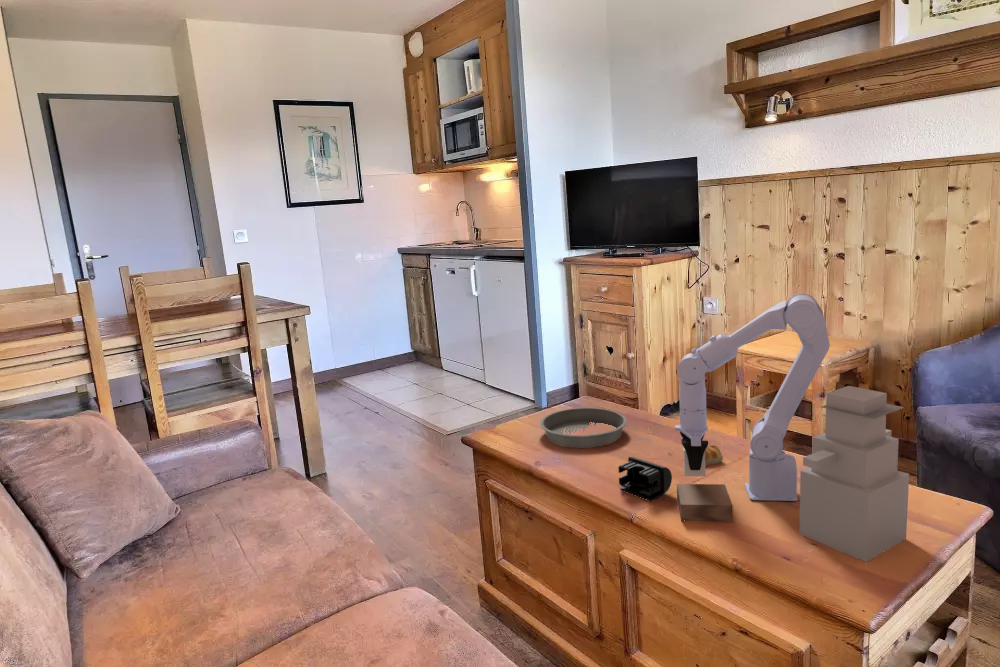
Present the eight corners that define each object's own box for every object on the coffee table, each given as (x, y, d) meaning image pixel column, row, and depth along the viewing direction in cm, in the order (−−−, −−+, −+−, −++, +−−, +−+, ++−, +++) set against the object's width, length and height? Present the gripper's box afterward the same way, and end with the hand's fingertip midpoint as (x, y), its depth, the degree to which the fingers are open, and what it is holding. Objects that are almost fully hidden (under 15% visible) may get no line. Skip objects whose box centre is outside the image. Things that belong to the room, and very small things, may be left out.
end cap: (672, 492, 146) (672, 464, 145) (652, 502, 142) (651, 473, 140) (637, 480, 154) (636, 453, 152) (617, 489, 149) (616, 461, 148)
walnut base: (724, 501, 140) (724, 484, 140) (732, 523, 131) (732, 505, 130) (677, 501, 142) (676, 484, 141) (681, 522, 133) (680, 504, 132)
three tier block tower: (922, 529, 123) (930, 386, 118) (849, 572, 111) (854, 415, 106) (855, 506, 134) (859, 374, 129) (782, 542, 122) (783, 398, 117)
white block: (703, 468, 149) (703, 443, 148) (705, 476, 145) (705, 450, 144) (683, 468, 150) (682, 443, 149) (684, 476, 146) (683, 450, 145)
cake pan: (528, 429, 195) (528, 415, 194) (603, 416, 202) (602, 402, 201) (560, 457, 172) (559, 440, 171) (643, 441, 179) (642, 425, 178)
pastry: (691, 469, 158) (691, 454, 157) (677, 460, 164) (676, 445, 163) (725, 463, 160) (725, 448, 159) (709, 454, 167) (709, 440, 166)
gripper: (672, 398, 152) (674, 453, 155) (676, 418, 139) (677, 477, 141) (704, 398, 151) (705, 453, 153) (710, 417, 137) (711, 478, 140)
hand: (694, 465), depth 147 cm, fingers closed on white block, 4 cm apart
